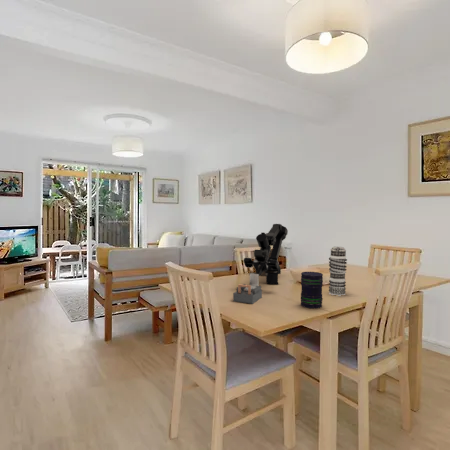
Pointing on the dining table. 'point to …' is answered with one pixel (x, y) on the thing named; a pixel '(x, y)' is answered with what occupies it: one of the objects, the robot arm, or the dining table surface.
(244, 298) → the grey walled tray
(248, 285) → the lug
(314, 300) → the storage jar
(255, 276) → the tapered wooden notched block
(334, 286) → the decorative candle
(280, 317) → the dining table surface
